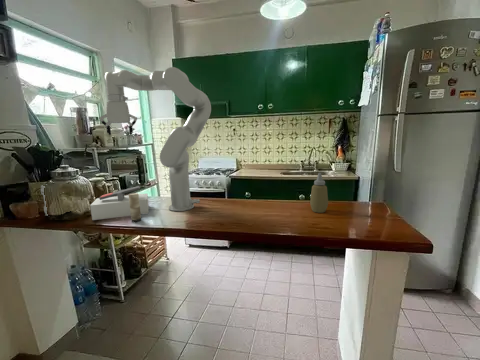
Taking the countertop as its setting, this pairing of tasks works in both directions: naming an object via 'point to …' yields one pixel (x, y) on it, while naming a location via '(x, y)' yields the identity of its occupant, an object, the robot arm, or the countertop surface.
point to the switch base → (117, 206)
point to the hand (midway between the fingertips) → (120, 134)
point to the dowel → (134, 207)
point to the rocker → (119, 192)
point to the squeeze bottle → (319, 195)
